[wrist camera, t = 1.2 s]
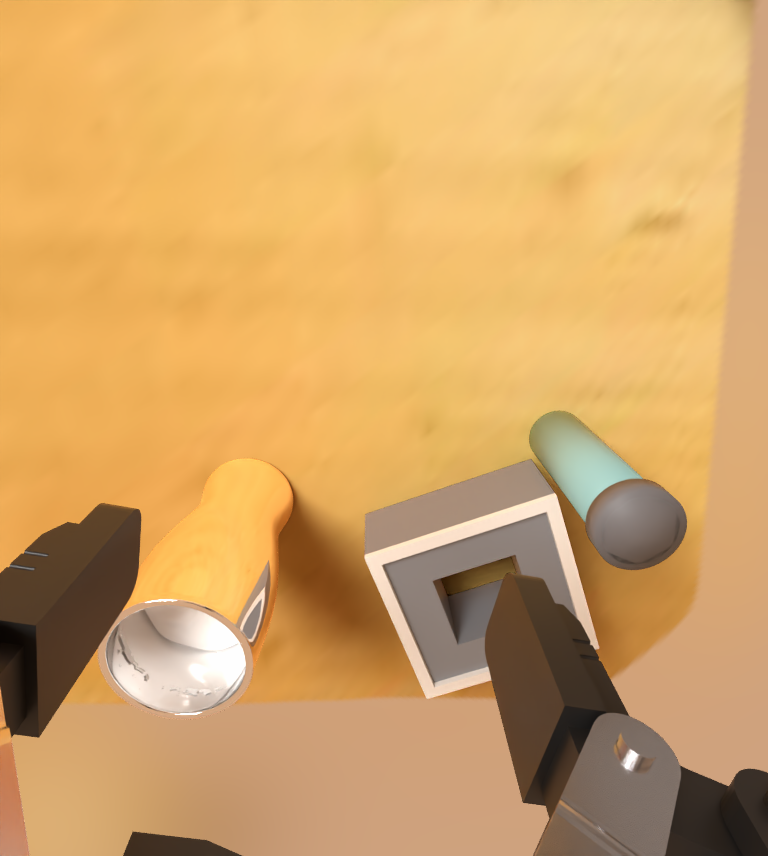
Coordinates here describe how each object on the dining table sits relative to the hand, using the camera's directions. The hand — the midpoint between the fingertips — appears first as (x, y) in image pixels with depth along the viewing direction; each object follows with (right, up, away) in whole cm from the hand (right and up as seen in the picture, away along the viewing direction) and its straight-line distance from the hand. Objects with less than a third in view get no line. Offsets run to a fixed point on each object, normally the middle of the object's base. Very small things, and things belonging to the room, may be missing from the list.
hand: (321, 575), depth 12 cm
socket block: (+8, -6, +27) cm, 29 cm away
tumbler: (-8, -2, +25) cm, 27 cm away
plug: (+13, +3, +24) cm, 27 cm away
